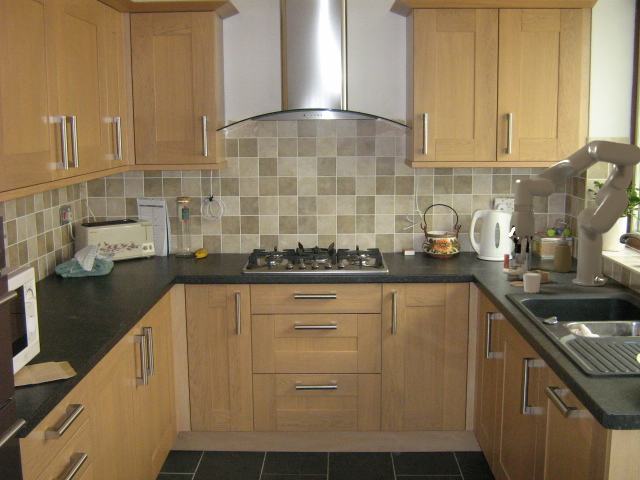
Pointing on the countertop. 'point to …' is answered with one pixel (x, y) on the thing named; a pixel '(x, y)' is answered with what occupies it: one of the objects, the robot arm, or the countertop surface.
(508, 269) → the crank wheel
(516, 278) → the wheel post
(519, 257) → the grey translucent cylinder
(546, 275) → the block
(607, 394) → the countertop surface
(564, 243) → the squeeze bottle
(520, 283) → the coaster
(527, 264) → the light bulb box
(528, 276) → the white cup
